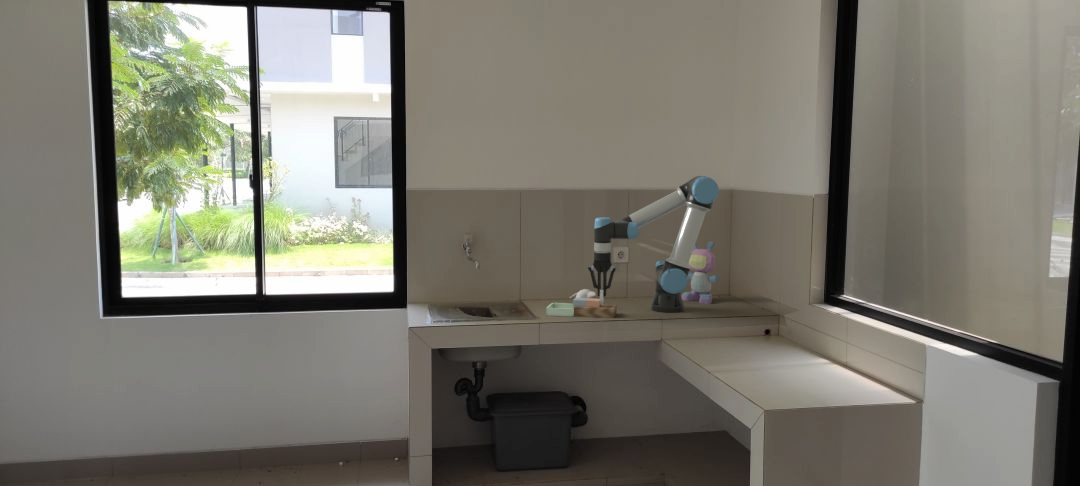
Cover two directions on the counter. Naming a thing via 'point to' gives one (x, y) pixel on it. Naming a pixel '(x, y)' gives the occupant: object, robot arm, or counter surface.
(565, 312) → the tray
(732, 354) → the counter surface
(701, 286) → the toy
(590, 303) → the tile
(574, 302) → the tile
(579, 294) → the toy
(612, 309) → the board
